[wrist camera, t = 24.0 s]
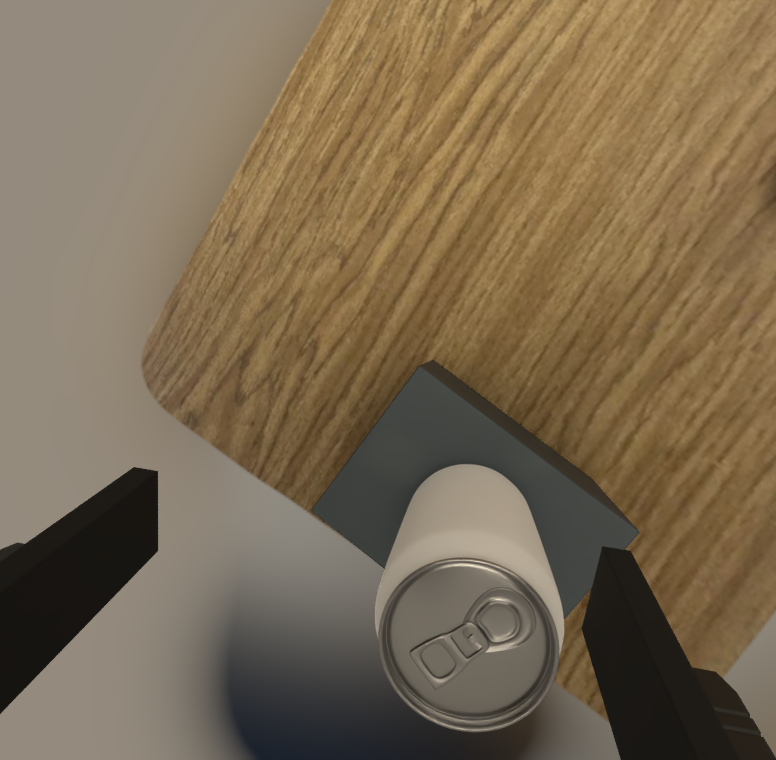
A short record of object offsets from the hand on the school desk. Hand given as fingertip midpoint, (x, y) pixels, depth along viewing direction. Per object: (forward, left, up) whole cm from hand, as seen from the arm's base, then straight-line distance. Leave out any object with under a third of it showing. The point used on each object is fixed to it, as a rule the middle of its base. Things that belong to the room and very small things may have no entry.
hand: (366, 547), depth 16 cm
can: (+3, -3, -13) cm, 14 cm away
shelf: (+3, -3, -24) cm, 25 cm away
